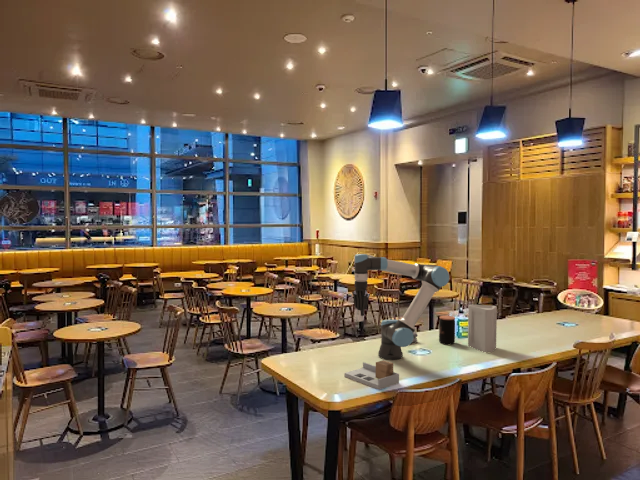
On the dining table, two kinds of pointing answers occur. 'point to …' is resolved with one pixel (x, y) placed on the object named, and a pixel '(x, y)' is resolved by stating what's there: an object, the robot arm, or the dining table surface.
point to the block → (384, 369)
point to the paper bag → (482, 327)
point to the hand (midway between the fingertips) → (360, 321)
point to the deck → (372, 377)
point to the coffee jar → (447, 329)
